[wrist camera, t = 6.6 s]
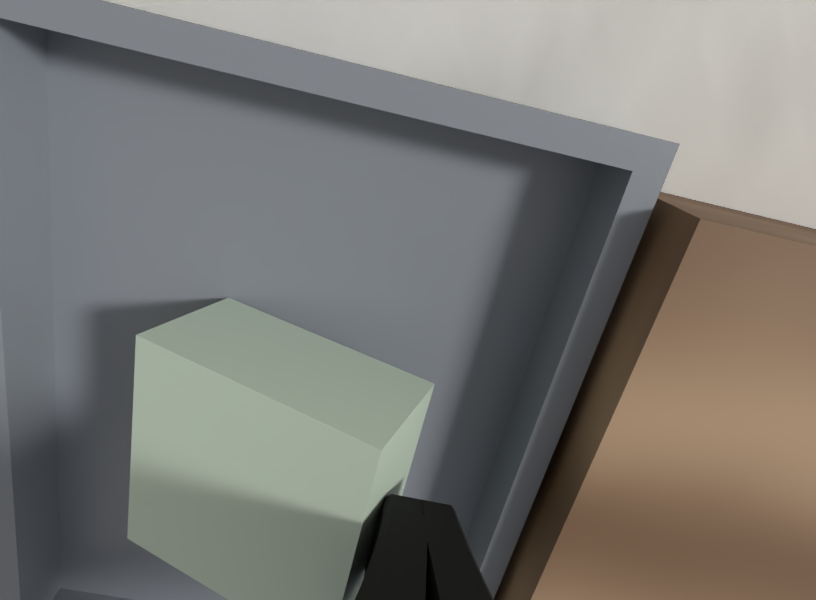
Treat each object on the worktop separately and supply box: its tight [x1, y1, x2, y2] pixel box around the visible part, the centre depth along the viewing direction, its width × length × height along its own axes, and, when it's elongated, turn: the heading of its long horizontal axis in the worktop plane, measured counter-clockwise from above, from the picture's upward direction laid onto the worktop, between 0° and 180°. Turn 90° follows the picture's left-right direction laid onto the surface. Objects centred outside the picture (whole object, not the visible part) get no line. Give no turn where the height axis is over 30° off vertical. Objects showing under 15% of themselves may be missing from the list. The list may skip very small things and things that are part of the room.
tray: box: [0, 0, 680, 600], centre depth 12 cm, size 16×12×2 cm
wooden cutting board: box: [494, 192, 816, 600], centre depth 13 cm, size 14×14×3 cm
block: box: [127, 298, 435, 600], centre depth 11 cm, size 5×5×2 cm
